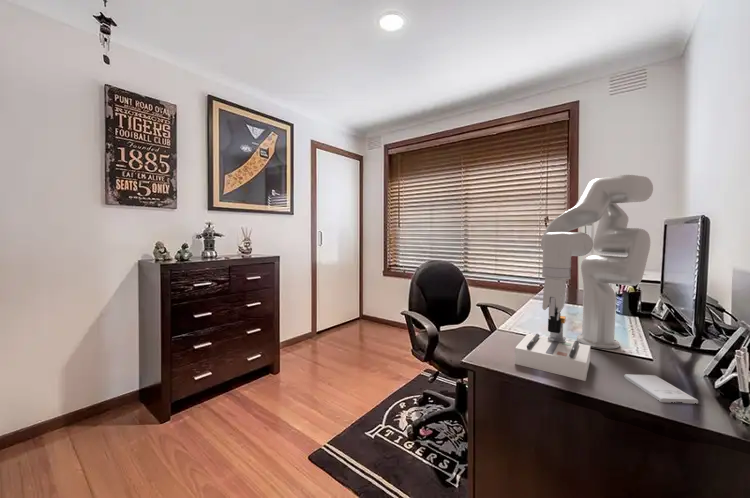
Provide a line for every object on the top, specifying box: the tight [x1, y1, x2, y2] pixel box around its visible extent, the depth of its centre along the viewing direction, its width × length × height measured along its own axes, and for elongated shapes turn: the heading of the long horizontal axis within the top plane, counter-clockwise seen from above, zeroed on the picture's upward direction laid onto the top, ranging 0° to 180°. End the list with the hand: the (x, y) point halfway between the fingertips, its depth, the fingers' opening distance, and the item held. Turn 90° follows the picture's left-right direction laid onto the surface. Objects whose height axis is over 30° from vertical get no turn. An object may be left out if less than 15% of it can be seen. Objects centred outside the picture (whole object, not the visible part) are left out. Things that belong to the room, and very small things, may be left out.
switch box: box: [514, 333, 591, 382], centre depth 97 cm, size 16×18×6 cm
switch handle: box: [547, 315, 567, 343], centre depth 101 cm, size 4×4×8 cm
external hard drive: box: [623, 373, 699, 405], centre depth 80 cm, size 2×8×12 cm
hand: (554, 331), depth 98 cm, fingers closed
